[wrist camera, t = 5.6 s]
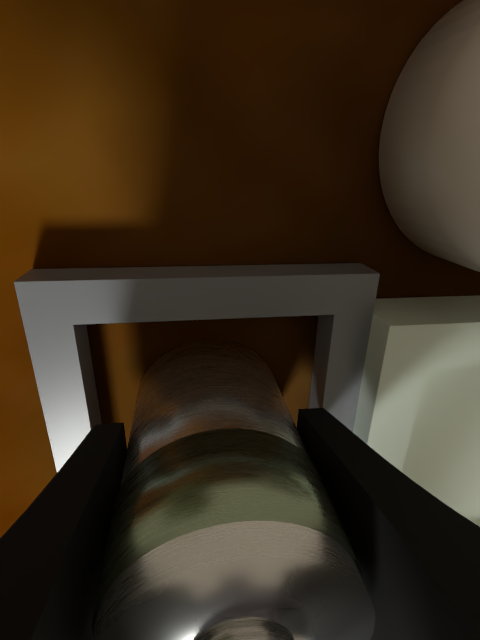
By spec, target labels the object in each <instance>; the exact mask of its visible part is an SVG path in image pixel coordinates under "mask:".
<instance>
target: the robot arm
mask: <svg viewBox="0 0 480 640" xmlns="http://www.w3.org/2000/svg"><path fill="white" fill-rule="evenodd" d="M297 431H298V433H299V435H300V438H301V440H302V442H303V445H304V447H305V449H306V451H307V454H308V456H309V458H310V460H311V461H312V462H313V464H314V465H315V467H316V469H317V471H318V473H319V475H320V477H321V479H322V482H323V484H324V486H325V488H326V491H327V493H328V495H329V497H330V500H331V502H332V504H333V506H334V509H335V511H336V513H337V515H338V518H339V520H340V522H341V524H342V527H343V529H344V531H345V533H346V536H347V538H348V540H349V542H350V545H351V547H352V549H353V551H354V554H355V556H356V558H357V560H358V563H359V565H360V569H361V572H362V579H363V582H364V585H365V587H366V589H367V591H368V594H369V596H370V598H371V601H372V604H373V607H374V611H375V626H374V632H373V635H372V638H371V640H480V527H479V526H478V525H476V524H475V523H473V522H472V521H470V520H468V519H467V518H465V517H464V516H462V515H461V514H459V513H458V512H456V511H455V510H453V509H452V508H450V507H449V506H448V505H446V504H445V503H443V502H442V501H440V500H439V499H438V498H436V497H435V496H433V495H432V494H431V493H429V492H428V491H427V490H425V489H424V488H422V487H421V486H420V485H418V484H417V483H416V482H414V481H413V480H411V479H410V478H409V477H408V476H406V475H405V474H404V473H402V472H401V471H400V470H398V469H397V468H396V467H395V466H393V465H392V464H391V463H389V462H388V461H387V460H386V459H384V458H383V457H382V456H381V455H379V454H378V453H377V452H376V451H375V450H373V449H372V448H371V447H370V446H368V445H367V444H366V443H365V442H364V441H362V440H361V439H360V438H359V437H358V436H356V435H355V434H354V433H353V432H352V431H351V430H349V429H348V428H347V427H346V426H345V425H343V424H342V423H341V422H340V421H339V420H338V419H336V418H335V417H334V416H333V415H332V414H330V413H329V412H328V411H327V410H325V409H324V408H310V409H299V413H298V423H297ZM126 454H127V446H126V438H125V430H124V423H113V424H99V425H95V426H94V427H93V428H92V429H91V430H90V431H89V433H88V434H87V435H86V437H85V438H84V439H83V441H82V442H81V443H80V445H79V446H78V447H77V448H76V450H75V451H74V452H73V454H72V455H71V456H70V457H69V459H68V460H67V461H66V463H65V464H64V465H63V466H62V468H61V469H60V470H59V471H58V473H57V474H56V475H55V476H54V477H53V479H52V480H51V481H50V482H49V483H48V485H47V486H46V487H45V488H44V489H43V491H42V492H41V493H40V494H39V495H38V497H37V498H36V499H35V500H34V501H33V503H32V504H31V505H30V506H29V507H28V508H27V510H26V511H25V512H24V513H23V514H22V515H21V516H20V517H19V518H18V520H17V521H16V522H15V523H14V524H13V525H12V526H11V527H10V528H9V529H8V531H7V532H6V533H5V534H4V535H3V536H2V537H1V538H0V640H92V637H93V633H92V619H93V612H94V606H95V601H96V596H97V591H98V586H99V581H100V575H101V570H102V565H103V560H104V555H105V550H106V544H107V539H108V534H109V529H110V524H111V519H112V513H113V508H114V504H115V501H116V497H117V494H118V492H119V490H120V486H121V481H122V475H123V470H124V465H125V459H126Z"/></svg>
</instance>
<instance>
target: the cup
mask: <svg viewBox="0 0 480 640" xmlns="http://www.w3.org/2000/svg"><path fill="white" fill-rule="evenodd" d="M379 174H380V181H381V188H382V192H383V195H384V199H385V203H386V205H387V207H388V210H389V212H390V214H391V217H392V218H393V220H394V221H395V223H396V225H397V226H398V228H399V229H400V230H401V232H402V233H403V234H404V235H405V236H406V237H407V239H409V240H410V241H411V242H412V243H413V244H415V245H416V246H417V247H418V248H420V249H422V250H424V251H425V252H427V253H429V254H431V255H434V256H437V257H439V258H442V259H445V260H447V261H450V262H453V263H455V264H458V265H461V266H464V267H466V268H469V269H472V270H474V271H477V272H480V0H463V1H462V2H460V3H459V4H457V5H456V6H454V7H453V8H452V9H451V10H450V11H449V12H447V13H446V14H445V15H444V16H443V17H442V18H441V19H440V20H439V21H437V22H436V24H435V25H434V26H433V27H432V28H431V29H430V30H429V32H428V33H427V34H426V35H425V36H424V37H423V38H422V40H421V41H420V43H419V44H418V45H417V47H416V48H415V50H414V51H413V52H412V54H411V55H410V57H409V59H408V60H407V62H406V64H405V66H404V68H403V69H402V71H401V73H400V75H399V77H398V79H397V81H396V84H395V86H394V88H393V91H392V93H391V95H390V99H389V102H388V105H387V108H386V111H385V114H384V119H383V124H382V129H381V134H380V144H379Z"/></svg>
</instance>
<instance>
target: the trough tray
mask: <svg viewBox="0 0 480 640" xmlns="http://www.w3.org/2000/svg"><path fill="white" fill-rule="evenodd" d="M353 433H354V434H355V435H356V436H358V437H359V438H360V439H361V440H362V441H364V442H365V443H366V444H367V445H368V446H370V447H371V448H372V449H373V450H375V451H376V452H377V453H378V454H379V455H381V456H382V457H383V458H384V459H386V460H387V461H388V462H389V463H391V464H392V465H393V466H395V467H396V468H397V469H398V470H400V471H401V472H402V473H404V474H405V475H406V476H408V477H409V478H410V479H411V480H413V481H414V482H416V483H417V484H418V485H420V486H421V487H422V488H424V489H425V490H427V491H428V492H429V493H431V494H432V495H433V496H435V497H436V498H438V499H439V500H440V501H442V502H443V503H445V504H446V505H448V506H449V507H450V508H452V509H453V510H455V511H456V512H458V513H459V514H461V515H462V516H464V517H465V518H467V519H468V520H470V521H472V522H473V523H475V524H476V525H478V526H479V527H480V295H473V296H443V297H412V298H382V299H376V300H375V306H374V312H373V317H372V323H371V329H370V335H369V341H368V347H367V352H366V358H365V364H364V370H363V376H362V381H361V387H360V393H359V399H358V405H357V411H356V416H355V422H354V428H353Z"/></svg>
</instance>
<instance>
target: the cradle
mask: <svg viewBox="0 0 480 640" xmlns="http://www.w3.org/2000/svg"><path fill="white" fill-rule="evenodd" d="M379 277H380V273H378V272H376V271H374V270H373V269H371V268H369V267H367V266H366V265H364V264H362V263H337V264H282V265H228V266H173V267H118V268H64V269H31V270H30V271H28V272H27V273H26V274H24V275H23V276H21V277H20V278H19V279H17V280H16V281H14V285H15V289H16V294H17V298H18V302H19V307H20V311H21V316H22V320H23V325H24V329H25V333H26V338H27V342H28V347H29V351H30V355H31V360H32V364H33V369H34V373H35V377H36V382H37V386H38V391H39V395H40V399H41V404H42V408H43V413H44V417H45V422H46V426H47V430H48V435H49V439H50V444H51V448H52V452H53V457H54V461H55V466H56V470H57V473H58V471H59V470H60V469H61V468H62V466H63V465H64V464H65V463H66V461H67V460H68V459H69V457H70V456H71V455H72V454H73V452H74V451H75V450H76V448H77V447H78V446H79V445H80V443H81V442H82V441H83V439H84V438H85V437H86V435H87V434H88V433H89V431H90V430H91V429H92V428H93V427H94V426H95V425H99V424H102V422H101V416H100V409H99V403H98V396H97V390H96V384H95V377H94V371H93V364H92V358H91V351H90V345H89V338H88V332H87V325H86V324H105V323H131V322H157V321H183V320H208V319H234V318H260V317H285V316H311V315H319V316H318V325H317V334H316V343H315V353H314V362H313V371H312V380H311V389H310V398H309V407H308V409H310V408H324V409H325V410H327V411H328V412H329V413H330V414H332V415H333V416H334V417H335V418H336V419H338V420H339V421H340V422H341V423H342V424H343V425H345V426H346V427H347V428H348V429H349V430H351V431H352V432H353V428H354V422H355V416H356V411H357V405H358V399H359V393H360V387H361V381H362V376H363V370H364V364H365V358H366V352H367V347H368V341H369V335H370V329H371V323H372V317H373V312H374V306H375V300H376V294H377V288H378V282H379Z"/></svg>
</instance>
